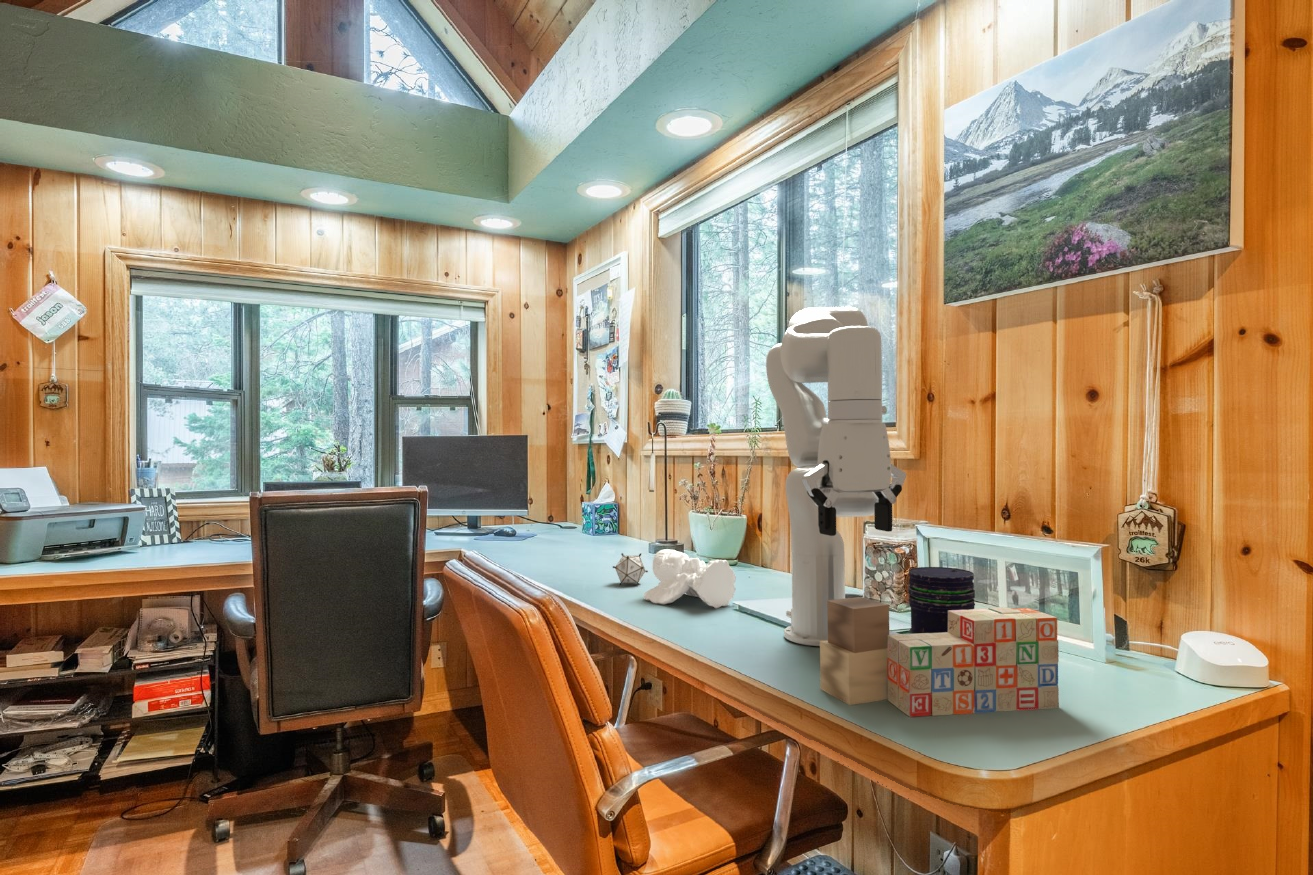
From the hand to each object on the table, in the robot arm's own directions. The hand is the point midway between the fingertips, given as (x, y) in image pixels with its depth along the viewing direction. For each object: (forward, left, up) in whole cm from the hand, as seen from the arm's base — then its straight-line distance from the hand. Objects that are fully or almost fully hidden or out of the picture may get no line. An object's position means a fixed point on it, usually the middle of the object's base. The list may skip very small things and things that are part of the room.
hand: (856, 532), depth 103 cm
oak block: (+1, -1, -23) cm, 23 cm away
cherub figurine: (-64, +2, -23) cm, 68 cm away
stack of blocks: (+11, +11, -23) cm, 27 cm away
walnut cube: (+1, -1, -16) cm, 16 cm away
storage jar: (-4, +19, -23) cm, 30 cm away
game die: (-89, -3, -23) cm, 92 cm away
